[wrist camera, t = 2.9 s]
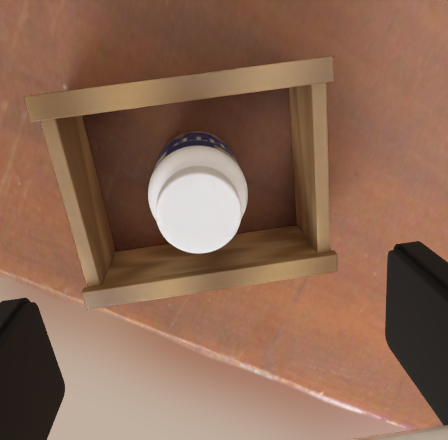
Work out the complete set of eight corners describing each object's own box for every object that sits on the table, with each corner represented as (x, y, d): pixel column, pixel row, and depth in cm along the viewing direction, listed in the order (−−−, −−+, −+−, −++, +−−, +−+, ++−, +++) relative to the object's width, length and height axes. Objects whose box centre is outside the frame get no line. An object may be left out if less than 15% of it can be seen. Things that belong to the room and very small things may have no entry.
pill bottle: (245, 142, 26) (272, 175, 18) (224, 214, 28) (239, 277, 19) (166, 120, 25) (155, 144, 17) (149, 196, 27) (130, 253, 18)
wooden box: (105, 265, 28) (86, 310, 23) (59, 90, 24) (22, 96, 19) (310, 235, 29) (337, 272, 23) (302, 58, 24) (333, 55, 19)
